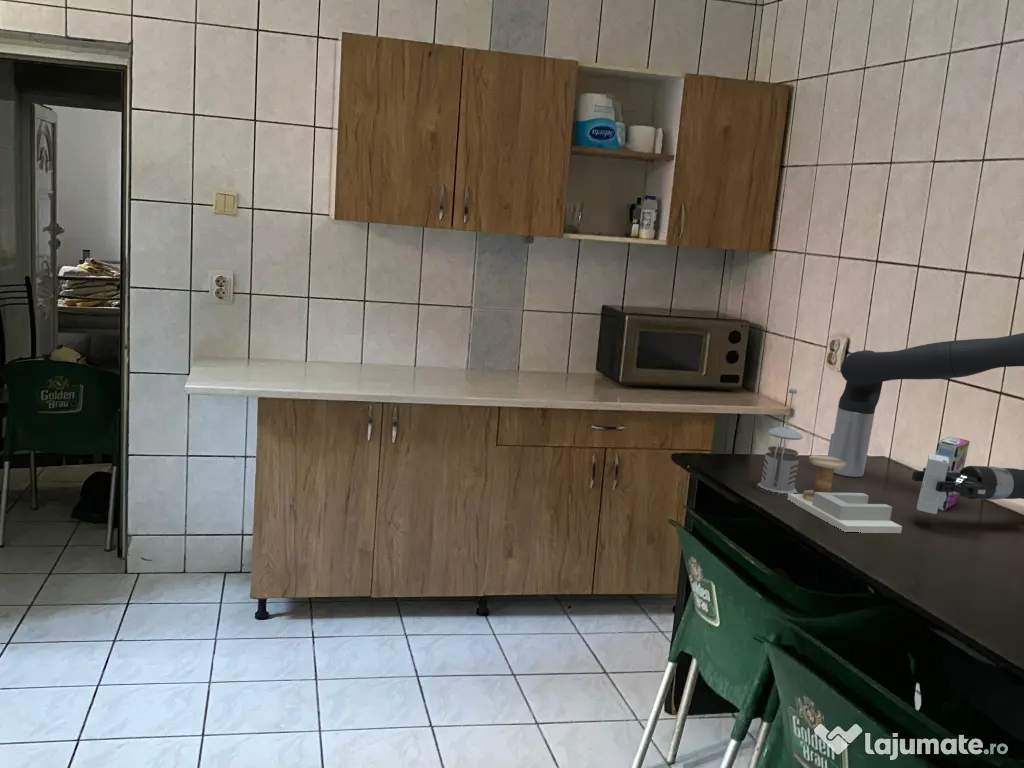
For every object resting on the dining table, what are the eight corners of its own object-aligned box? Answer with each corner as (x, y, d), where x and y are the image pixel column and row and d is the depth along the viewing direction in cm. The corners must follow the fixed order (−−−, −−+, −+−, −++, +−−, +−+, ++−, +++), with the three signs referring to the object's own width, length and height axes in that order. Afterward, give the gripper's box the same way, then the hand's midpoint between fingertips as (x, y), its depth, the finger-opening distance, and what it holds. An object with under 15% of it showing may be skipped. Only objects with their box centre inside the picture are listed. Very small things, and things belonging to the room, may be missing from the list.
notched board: (787, 499, 215) (790, 481, 214) (838, 500, 219) (841, 482, 218) (845, 532, 194) (849, 512, 193) (900, 533, 198) (904, 513, 197)
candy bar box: (945, 512, 219) (959, 445, 216) (923, 506, 222) (936, 440, 219) (957, 504, 228) (970, 439, 225) (936, 498, 231) (949, 435, 228)
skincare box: (916, 503, 209) (927, 452, 207) (938, 508, 208) (949, 456, 205) (916, 510, 204) (927, 457, 202) (938, 515, 202) (949, 462, 200)
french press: (800, 488, 226) (817, 389, 222) (793, 499, 216) (811, 395, 211) (759, 480, 230) (775, 382, 226) (751, 490, 220) (767, 388, 215)
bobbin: (795, 493, 215) (802, 454, 213) (825, 494, 217) (831, 455, 216) (816, 504, 208) (822, 464, 206) (846, 505, 210) (853, 465, 208)
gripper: (965, 457, 215) (906, 455, 210) (1013, 476, 201) (952, 474, 196) (959, 488, 216) (900, 487, 211) (1006, 509, 203) (945, 508, 198)
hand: (925, 481), depth 204 cm, fingers closed on skincare box, 7 cm apart
